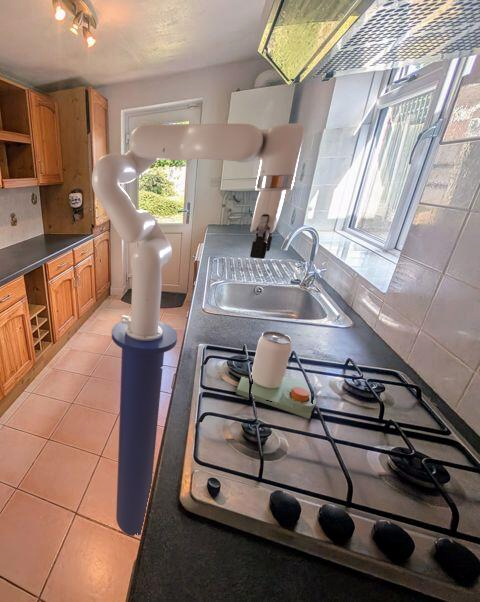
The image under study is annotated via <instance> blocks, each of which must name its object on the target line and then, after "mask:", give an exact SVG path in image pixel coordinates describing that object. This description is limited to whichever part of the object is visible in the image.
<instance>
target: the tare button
mask: <svg viewBox="0 0 480 602" xmlns="http://www.w3.org/2000/svg"><path fill="white" fill-rule="evenodd" d="M291 397H292V398H293V399H295V400H297V401H300V402H307V400H308V397H309V392H308V391H307V390H305V389H303V388H301V387H294V388H293V389H292V392H291Z"/></svg>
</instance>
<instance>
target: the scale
mask: <svg viewBox="0 0 480 602" xmlns="http://www.w3.org/2000/svg"><path fill="white" fill-rule="evenodd" d="M306 382H307V381H304V380H301V379H297V378H293V377H290V376H287V375H284V378H283V381H282V385H281V386H280V387H278V388H275V389H269V388H264V387H262V386H259V385H257V384H256V383H255V382H254V381H253V384H252V394H253V395H254V399H255V400H254V401H255V402H259V403H262V404H264V405H267V406H271V407H273V408H275V409H276V408H277V409H279V410H281V411H285V412H288V413H291V414H294V415H297V416H299V417H303V418H305V419H308V420H310V419H311V416H312V412H313V411H314V410H313V408H314V407H315V408H316V406H317V399H316V397H314V400H313V404H312V403H311V394H310V390H309V388H308V385H307V383H306ZM311 385H312V386H313V383H311ZM294 387H301V388H303V389H305V390H307V391H308V392H309V397H308V400H307V402H300V401H297V400H295V399H293V398H292V397H291V392H292V389H293V388H294ZM235 394H236V395H238V396H241V397H245V398H247V399H250V398H249V379H248V378H245V377H242V376H241V378H240V380H239V382H238V385H237V389H236V392H235ZM266 400H269V401H272V402H273V403H272V402H269V401H266ZM275 403H276V404H275ZM312 410H313V411H312Z"/></svg>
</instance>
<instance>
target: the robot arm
mask: <svg viewBox="0 0 480 602" xmlns="http://www.w3.org/2000/svg"><path fill="white" fill-rule="evenodd" d="M305 133H306V127H305V126H304V124H302V123H282V124H277V125H273V126H271V127H269V128H267V129H266V128H265V129H264V128H263V129H260V128H258V127H257V126H255V125H253V124H250V123H184V124H183V123H143V124H140V125H138V126H136V127H135V128H134V129H133V131H131V134H130V136H129V141H128V142H129V143H128V144H129V148H130V149H129V150H127V152H125V153H124V154H122V153H107V154H105V155H103V156H101V157H100V158H99V159H98V160H97V161H96V163H95V164H94V167H93V169H92V174H91V186H92V191H93V194H94V196H95V197H96V199H97V200H98V202H99V204H100V206H101V207H102V209H103V210H104V213H106V215H107V217H108V219H109V220H110V222H111V224H112V225H113V227H114V229H115V231H116V232H117V235H118V236H119V238H120V239H121V240H122V241H123V242H124V243H127V244H134V243H137V244H138V246H137V247H135V249H134V250H133V251H132V254H131V257H130V268H131V279H132V280H131V303H130V304H131V305H130V306H131V307H130V316H127V315H124V314H122V315H121V317H120V318H121V319H120V322H121V323H124V324H127V325H128V326H127V327H126V333H127V335H128V336H130V337H131V338H133V339H136V340H141V341H152V340H156V339H159V338H160V337H161V336H162V333H163V331H162V329H161V328H160V327H159V326H158V325H159V321H160V312H161V301H162V285H163V278H162V267H163V266H165V265H166V264H167V263H168V262H169V261H170V260H171V258H172V254H173V248H172V245H171V242H170V241H169V239H168V237H167V236H166V234H165V232H164V230H163V229H162V227H161V225H160V224H159V222H158V220H157V218H155V216H154V215H153V214H152V213H150V212H149V211H147V210H143V209H140V210H138V209H137V208H136V206H135V204H134V203H133V201H132V200H131V198H130V196H129V195H128V194H127V192H126V191H125V190H124V188H122V187H121V184H129V183H132V182H133V181H134V180H136V179H137V178H139V177H140V176H141V175H142V174H143V173H145V172H146V171H147V170H148V169H149V168H150V167H151V166H153V165H155V163H156V162H158V161H159V160H169V161H181V162H183V161H184V162H187V161H192V160H214V161H215V160H216V161H228V162H229V161H230V162H238V163H250V162H256V161H260V163H259V169H258V174H257V179H256V186H255V191H259V192H258V195H257V198H256V203H255V207H254V211H253V215H252V216H253V217H252V221H251V225H250V229H249V230H250V233H254V232H255V234H254V238H253V241H252V243H251V249H250V253H249V257H250V258H252V259H259V260H263V259H265V258H266V254H267V252H269V251H271V247H272V246H271V245H272V241H273V233H274V232H275V230H276V228H277V226H278V223H279V220H280V217H281V213H282V208H283V205H284V200H285V194H286V191H292V190H293V186H294V182H295V177H296V173H297V169H298V164H299V159H300V156H301V155H300V154H301V151H302V145H303V142H304V137H305Z"/></svg>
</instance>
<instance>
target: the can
mask: <svg viewBox="0 0 480 602" xmlns="http://www.w3.org/2000/svg"><path fill="white" fill-rule="evenodd" d="M292 347H293V345H292V339H291V337H290V336H289V335H287V334H284V333H282V332H278V331H271V330H269V331H264V332H263V333H262V334H261V336H260V337H259V339H258V341H257V346H256V350H255V355H254V359H253V363H252V372H251V375H252V379H253V381H254V382H255V383H256V384H257V385H259V386H262V387H264V388H269V389H275V388H278V387H280V386H281V385H282V381H283V378H284V376H285V374H286V371H287V368H288V364H289V359H290V356H291V352H292Z"/></svg>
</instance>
